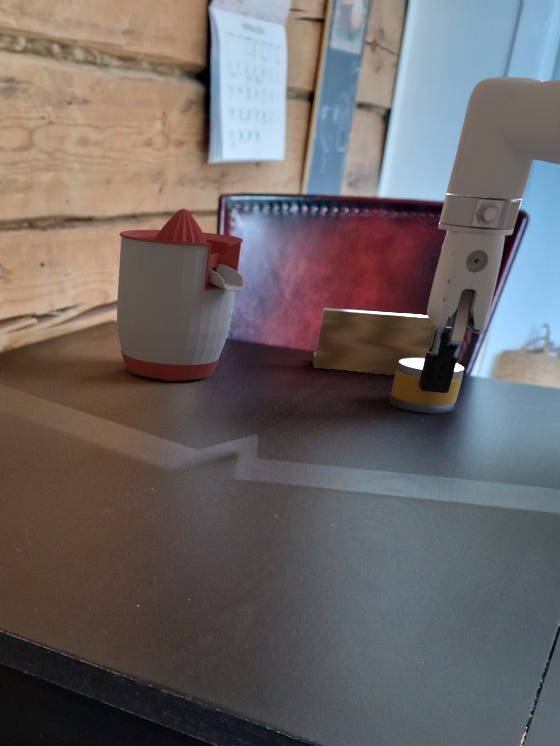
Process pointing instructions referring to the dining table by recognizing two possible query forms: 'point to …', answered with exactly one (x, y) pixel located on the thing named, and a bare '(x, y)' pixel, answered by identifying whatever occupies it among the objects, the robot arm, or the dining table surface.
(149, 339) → the citrus juicer
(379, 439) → the dining table surface
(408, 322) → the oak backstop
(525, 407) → the dining table surface
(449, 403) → the tin can
